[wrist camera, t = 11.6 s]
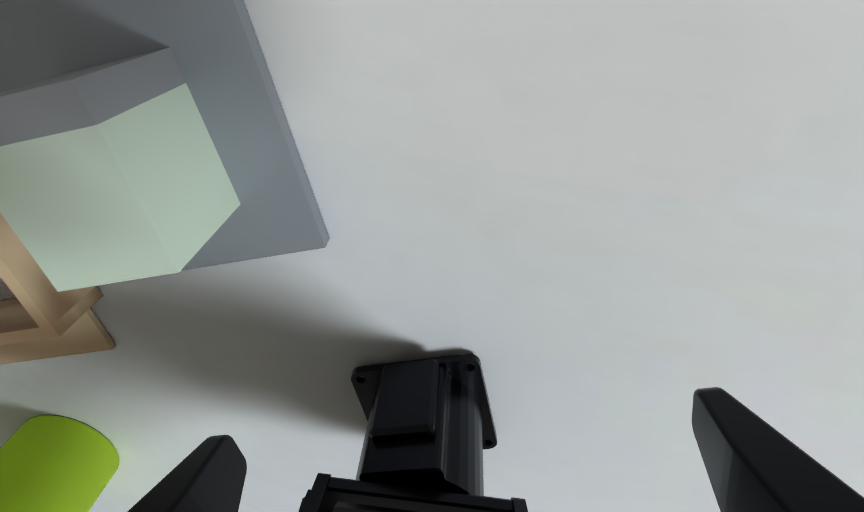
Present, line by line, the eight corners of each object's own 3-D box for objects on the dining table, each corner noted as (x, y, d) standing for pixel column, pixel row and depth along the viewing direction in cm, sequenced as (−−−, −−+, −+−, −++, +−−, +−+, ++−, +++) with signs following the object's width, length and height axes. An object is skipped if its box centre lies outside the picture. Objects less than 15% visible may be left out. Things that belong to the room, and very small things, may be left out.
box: (240, 204, 20) (179, 272, 16) (141, 221, 21) (57, 291, 17) (170, 47, 17) (70, 79, 13) (57, 74, 18) (-71, 113, 14)
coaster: (329, 238, 22) (324, 247, 21) (126, 271, 23) (115, 280, 23) (223, -56, 16) (212, -56, 15) (-34, 14, 18) (-53, 16, 17)
